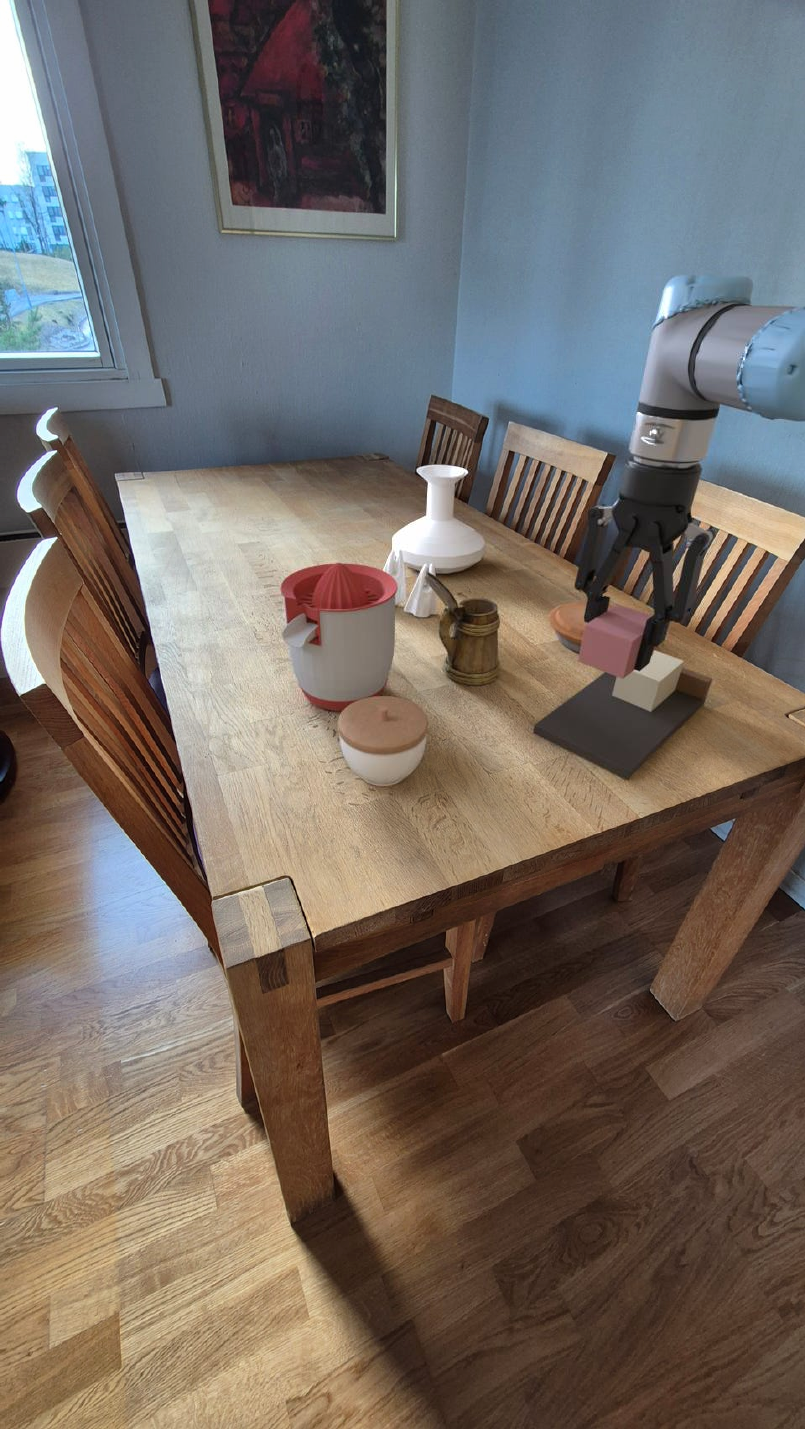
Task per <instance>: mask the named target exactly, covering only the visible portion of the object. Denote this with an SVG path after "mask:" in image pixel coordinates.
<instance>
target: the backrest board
mask: <svg viewBox="0 0 805 1429" xmlns="http://www.w3.org/2000/svg"><path fill="white" fill-rule="evenodd" d="M616 678H617V677H616V676H614V675H611V674H609V673H606V672H604V673H602V674H601V675H600V676H598V677H597V678H596V679H593V681H591V682H590V683H589V684H587V685H586V686H584V687H583V688H582V689H581V690H579V691H577V693H575V694H574V695H572V696H570V698H568V699H567V700H566V701H564V702H562V704H560V705H559V706H557V707H555V709H554V710H551V712H549V713H548V714H547V715H545V716H544V717H543V718H541V719H540V720H538V722H536V723H534V725H533V726H534V727H533V730H532V734H534V735H536V736H538V737H540V738H542V739H543V740H546V741H548V742H550V743H552V744H554V745H556V746H557V747H560V748H562V749H564V750H566V751H568V752H569V753H571V754H574V755H576V756H577V757H580V758H582V759H584V760H586V761H588V762H590V763H592V764H594V765H596V766H598V767H600V768H602V769H604V770H606V771H608V772H610V773H612V774H614V775H616V776H618V777H620V778H622V779H624V780H625V781H628V780H630V779H631V778H632V777H633V776H634V774H635V773H637V772H638V770H640V769H641V768H642V767H643V766H644V765H645V764H646V762H647V761H648V760H650V758H651V757H653V756H654V755H655V754H656V753H657V752H658V751H659V750H660V749H661V747H663V746H664V744H666V743H667V742H668V740H670V739H671V738H672V737H673V736H674V735H675V734H676V733H677V732H678V731H679V730H680V729H681V728H682V727H683V726H684V725H685V724H686V723H687V722H688V721H689V720H690V719H691V718H692V717H693V716H694V715H695V714H696V713H697V712H698V711H699V710H700V709H701V708H702V707H703V706H704V704H705V701H706V699H707V696H708V693H709V690H710V688H711V685H712V682H713V678H712V677H710V676H707V675H704V674H701V673H698V672H696V671H693V670H690V669H687V668H685V667H682V670H681V673H680V676H679V679H678V682H677V685H676V689H675V691H674V692H672V693H671V694H670V695H669V696H668V697H667V698H666V699H665V700H664V701H662V702H661V703H660V704H659V705H658V706H657V707H656V708H655V709H653V710H652V711H651V712H650V711H648V710H645V709H643V708H641V707H638V706H636V705H634V704H631V703H629V702H627V701H624V700H622V699H619V698H617V697H615V696H612V694H613V690H614V686H615V682H616Z"/></svg>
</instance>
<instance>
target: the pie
mask: <svg viewBox="0 0 805 1429" xmlns="http://www.w3.org/2000/svg"><path fill="white" fill-rule="evenodd" d="M586 604H587V600H585V601H584V600H583V601H574V602H570V603H569V602H568V603H564V604H561V605H558V606H556V607H554V608H553V609H552V610H551V611H550V612H549V614H548V622H549V626H551V628H552V629H553V630H554V634H555V635H556V637H557V639H558V641H559V642H560V643H561V645H563V646H564V647H565V648H567V649H569V650H571V651H573V652H574V653H580V649H581V644H582V639H583V634H584V629H585V625H586V624H587V622H584V614H585V609H586ZM614 606H615V605H612V604H609V606H608V610H609V609H611V608H612V607H614ZM608 610H607V611H608Z"/></svg>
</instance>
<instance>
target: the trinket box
mask: <svg viewBox="0 0 805 1429" xmlns="http://www.w3.org/2000/svg"><path fill="white" fill-rule="evenodd" d="M340 712H341V713H340V714H339V716H338V718H337V731H338V733H339V735H338V736H339V744H340V749H341V753H342V756H343V759H344V762H345V763H346V764H347V767H348V768H349V769H350V770H351V772H353V773H354V774H355V775H356V776H357V777H359V778H361V780H363V781H364V782H365V783H367V784H369V785H372V786H376V787H391V786H393V785H396V784H399V783H400V782H402V781H403V780H405V779H406V778H407V777H408V776H410V775H411V774H412V773H413V772H414V771H415V770H416V769H417V767H418V766H419V764H420V763H421V761H422V759H423V756H424V754H425V750H426V745H427V738H428V737H427V736H428V735H427V734H428V730H429V719H428V716H427V714H426V712H425V711H424V710H423V709H422V708H421V707H420V706H419V705H417V704H416V703H414V702H412V701H411V700H408V699H405V698H402V697H397V696H390V695H380V696H374V697H368V698H364V699H361V700H358V701H356V702H354V703H352V704H350V705H349V706H347V707H346V708H345V709H344V710H343V711H340Z"/></svg>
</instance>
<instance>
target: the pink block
mask: <svg viewBox="0 0 805 1429" xmlns="http://www.w3.org/2000/svg"><path fill="white" fill-rule="evenodd" d="M613 606H614V607H612V608H611V609H609V610H608V611H606V612H605V613H603V614H601V615H600V616H598V617H597V618H595V619H594V620H592V621H590V622H589V623H587V624H586V625H585V629H584V634H583V639H582V644H581V649H580V653H579V654H578V659H577V662H579V663H582V664H584V665H587V666H589V667H592V668H594V669H597V670H599V671H602V672H604V673H605V672H606V673H609V674H611V675H614V676H616V677H619V678H621V679H624V678H625V677H626V676H627V675H629V674H630V673H631V672H632V671H634V667H635V663H636V659H637V656H638V652H639V648H640V644H641V641H642V637H643V632H644V628H645V625H646V621H647V619H649V618H650V617H651V616H652V615H651V614H648V613H645V612H642V611H640V610H639V611H638V610H636V609H632V608H629V607H627V606H624V605H620V604H616V605H613ZM655 649H656V647H655V646H654V649H653V652H654V650H655ZM653 652H652V655H653Z"/></svg>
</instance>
